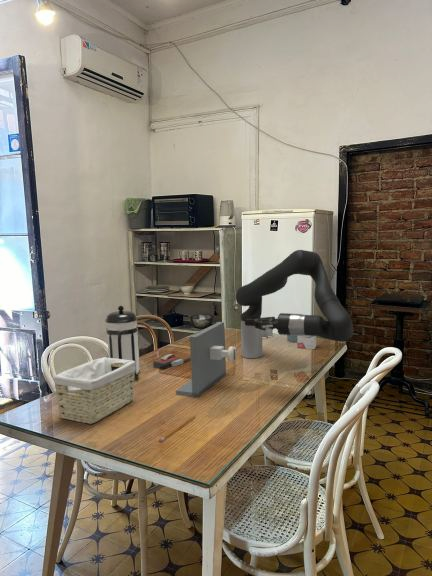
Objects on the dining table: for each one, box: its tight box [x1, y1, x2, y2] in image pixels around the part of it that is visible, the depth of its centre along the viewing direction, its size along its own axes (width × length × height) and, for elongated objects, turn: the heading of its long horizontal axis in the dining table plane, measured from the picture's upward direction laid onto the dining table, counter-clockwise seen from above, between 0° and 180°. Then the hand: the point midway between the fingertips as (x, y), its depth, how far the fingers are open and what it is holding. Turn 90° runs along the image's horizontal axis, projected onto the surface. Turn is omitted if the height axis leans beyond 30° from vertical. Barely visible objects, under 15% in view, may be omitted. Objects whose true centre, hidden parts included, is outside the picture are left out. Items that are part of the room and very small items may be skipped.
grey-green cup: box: [286, 335, 297, 344], centre depth 226 cm, size 10×10×12 cm
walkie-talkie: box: [152, 353, 191, 370], centre depth 193 cm, size 9×4×20 cm
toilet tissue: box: [261, 329, 274, 337], centre depth 238 cm, size 9×13×9 cm
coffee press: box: [104, 305, 141, 382], centre depth 174 cm, size 17×16×30 cm
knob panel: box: [175, 321, 227, 398], centre depth 163 cm, size 13×26×22 cm, turn 157°
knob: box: [220, 345, 238, 363], centre depth 159 cm, size 6×6×6 cm
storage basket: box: [53, 356, 135, 425], centre depth 144 cm, size 24×16×15 cm
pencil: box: [158, 415, 197, 444], centre depth 128 cm, size 1×1×19 cm
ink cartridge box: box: [296, 335, 317, 350], centre depth 211 cm, size 9×5×15 cm, turn 65°
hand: (245, 322), depth 155 cm, fingers closed
